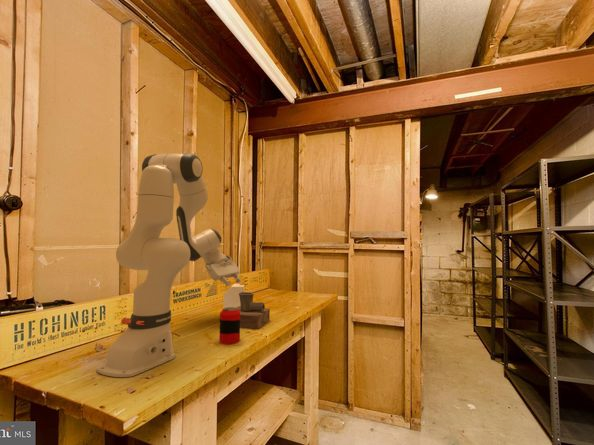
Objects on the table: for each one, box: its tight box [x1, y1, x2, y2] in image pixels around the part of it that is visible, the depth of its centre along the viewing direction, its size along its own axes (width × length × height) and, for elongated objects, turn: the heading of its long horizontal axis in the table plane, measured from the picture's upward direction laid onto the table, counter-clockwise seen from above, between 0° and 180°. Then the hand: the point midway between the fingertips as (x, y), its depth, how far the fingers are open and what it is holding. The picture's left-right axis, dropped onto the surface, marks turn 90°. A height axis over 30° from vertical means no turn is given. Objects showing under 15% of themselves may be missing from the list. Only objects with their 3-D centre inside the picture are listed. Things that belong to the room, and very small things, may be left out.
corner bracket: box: [222, 283, 245, 308], centre depth 165 cm, size 11×11×12 cm
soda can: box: [218, 307, 241, 345], centre depth 110 cm, size 8×8×12 cm
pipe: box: [239, 291, 266, 311], centre depth 133 cm, size 6×13×8 cm, turn 73°
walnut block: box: [236, 306, 270, 330], centre depth 133 cm, size 14×16×6 cm
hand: (234, 283), depth 136 cm, fingers open, 8 cm apart
